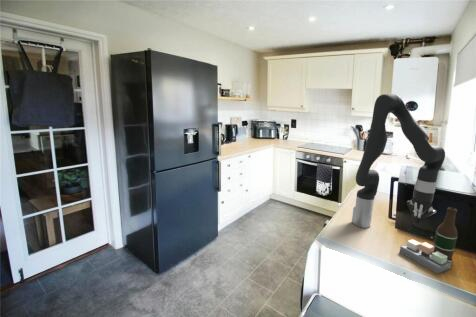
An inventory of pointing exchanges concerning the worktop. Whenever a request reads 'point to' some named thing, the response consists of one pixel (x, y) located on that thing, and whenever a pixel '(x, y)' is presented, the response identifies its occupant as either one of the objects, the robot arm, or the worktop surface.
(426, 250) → the key terracotta
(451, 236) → the beer bottle
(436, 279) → the worktop surface
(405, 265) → the worktop surface
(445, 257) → the key sage
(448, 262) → the grey tray
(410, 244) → the key ivory
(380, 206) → the worktop surface
